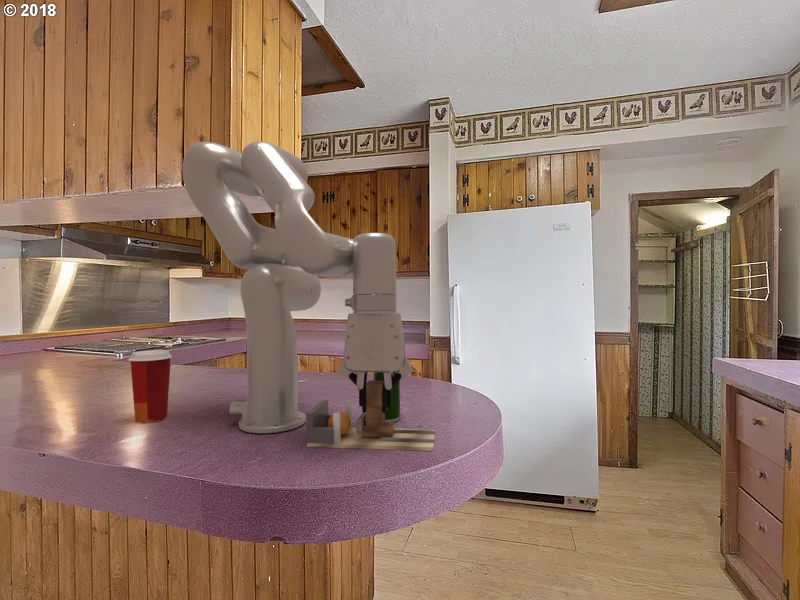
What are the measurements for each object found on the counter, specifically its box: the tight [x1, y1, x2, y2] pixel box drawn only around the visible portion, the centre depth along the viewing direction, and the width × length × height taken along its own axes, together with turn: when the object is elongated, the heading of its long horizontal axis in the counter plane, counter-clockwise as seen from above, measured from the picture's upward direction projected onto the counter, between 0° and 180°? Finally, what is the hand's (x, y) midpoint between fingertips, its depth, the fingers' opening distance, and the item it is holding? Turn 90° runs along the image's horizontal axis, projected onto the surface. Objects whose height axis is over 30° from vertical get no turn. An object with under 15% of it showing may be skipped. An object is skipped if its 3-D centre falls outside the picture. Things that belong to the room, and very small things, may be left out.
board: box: [306, 426, 436, 452], centre depth 71 cm, size 21×9×1 cm, turn 83°
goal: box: [305, 399, 353, 444], centre depth 72 cm, size 6×9×5 cm, turn 173°
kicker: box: [355, 379, 395, 437], centre depth 71 cm, size 6×6×9 cm
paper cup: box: [127, 349, 173, 424], centre depth 84 cm, size 8×8×14 cm
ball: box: [328, 411, 351, 435], centre depth 72 cm, size 4×4×4 cm
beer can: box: [373, 369, 401, 423], centre depth 83 cm, size 5×5×12 cm
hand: (375, 409), depth 71 cm, fingers closed on kicker, 2 cm apart
